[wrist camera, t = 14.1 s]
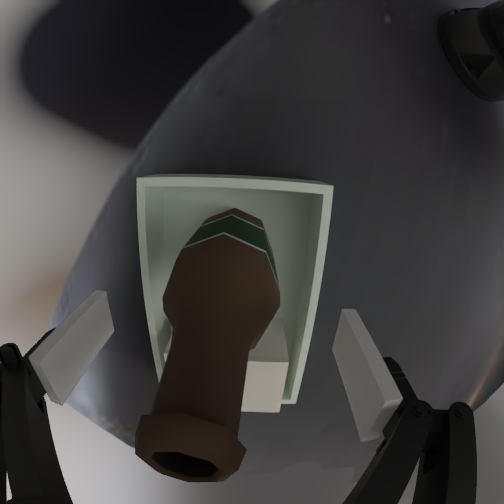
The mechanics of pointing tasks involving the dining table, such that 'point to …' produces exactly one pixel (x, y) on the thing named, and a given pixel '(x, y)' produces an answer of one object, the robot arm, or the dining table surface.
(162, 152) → the dining table surface
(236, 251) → the beer bottle
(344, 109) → the dining table surface
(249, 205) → the tote
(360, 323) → the robot arm
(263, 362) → the off-white rectangular block
